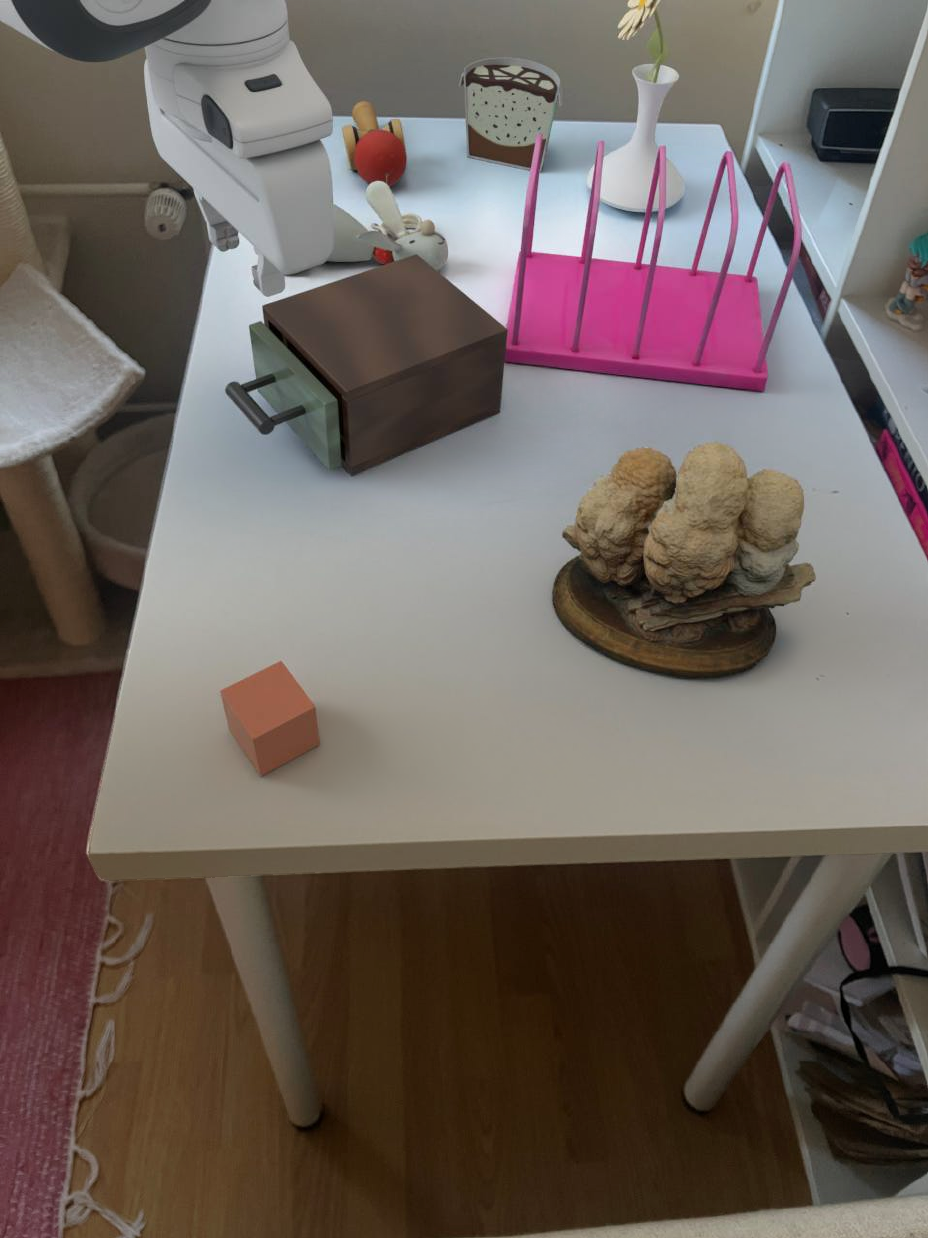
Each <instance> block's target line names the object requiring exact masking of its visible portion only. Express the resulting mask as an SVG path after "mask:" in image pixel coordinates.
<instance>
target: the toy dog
mask: <svg viewBox="0 0 928 1238" xmlns="http://www.w3.org/2000/svg"><path fill="white" fill-rule="evenodd" d="M366 187H367V188H366V190H365V199H366V202H367V204H368V205H369V206H370V208H371V209H372V210H373V211H374V213H375V214H376V215H377V217H378V218H379V219H380V221H381V222H382V223H380V225H379V224H378V223H376V222H371V224H370V228H372V229H373V230H369V229H367V227H365V226H364V225H363V224H362V223H361V222H360V221H359V220H358V219H356V218H355V217H354V216H352V215H351V214H350V213H348V212H347V211H345V210H344V208H341V207H340V206H338V205H337V204H335V203H333V205H334V246H333V251H332V253H331V255H330V256H329V258H328V259H327V261H326V262H332V263H333V262H335V263H351V262H354V263H355V262H365V261H370V260H371V259H372V257H373V258H374V259H375V261H376V262H378V263H380V264H382V265H386V264H389V263H392V262H395V261H398V260H401V259H404V258H407V257H410V256H413V255H415V254H417V255H418V256H420V257H421V258H422V259H423V260H424V261H426V262H427V263H428V264H429V265H430V266H432V267H433V268H434V269H435V270H436V271H439V270H441V269H442V268H443V267H444V266H445V265H446V263H447V261H448V256H449V248H448V242H447V240H446V238H445V236H444V235H443V234H442V233H441V232H439V231H437V230H436V225H435V223H434V222H433V221H432V220H431V219H424V220H423V219H422V217H420V215H418V214H416V213H404V214H403V213H402V214H401V212H400V209H399V204H398V203H397V201H396V197H395V195H394V194H393V191H392V189H391V188H390V187H391V186H388V185H387V184H386V183H384V182H382V181H375V182H372V183H371V184H368V186H366ZM407 229H414V230H413V231H410V230H407ZM301 272H302V271H300V272H297V273H293V274H292V275H295V274H299V273H301Z"/></svg>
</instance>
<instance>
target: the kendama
mask: <svg viewBox="0 0 928 1238" xmlns="http://www.w3.org/2000/svg"><path fill="white" fill-rule="evenodd" d="M351 116H352V117H351V118H352V120H353V122H354V123H355V125H356V127H355V126H354V125H353V124H348V125H343V126H341V130H342V137H343V142H344V147H345V151H346V156H347V161H348V165H349V170H350V171H356V172H357V173H358V175H359V177H360V178H361V179H362V180H363V181H364V182H366V183H367V184H368V185H370V184H371V183H372V182H375V181H382V182H384V183H386V184H387V185H388V186H389V187H391V186H392V185H395V184H396V183H397V182H399V181H400V179H401V178H402V177H403V175H404V173H405V171H406V168H407V161H408V159H407V158H408V157H407V150H406V142H405V141H406V140H405V137H404V131H403V126H402V123H401V120H400V118H392V119H390V120H389V122H388V123H387V124H386V125H385V126H384V127H383V128H381V129H380V127H379V121H378V117H377V111H376V108H375V106H373V104H372V103H371V102H369V101H366V100H363V101H359V102H357V103H356V104H355V105H354V106H353V108H352V112H351Z"/></svg>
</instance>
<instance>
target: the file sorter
mask: <svg viewBox="0 0 928 1238" xmlns="http://www.w3.org/2000/svg"><path fill="white" fill-rule="evenodd" d="M542 138H543V135H542V134H537V137H536V142H535V148H534V153H533V159H532V165H531V170H529V171H530V172H529V176H528V182H527V190H526V195H525V203H524V210H523V212H524V213H523V219H522V220H523V221H522V229H521V230H522V231H521V244H520V250H519V252H518V258H517V262H516V268H515V275H514V279H513V281H514V282H513V288H512V291H511V299H510V306H509V312H508V317H507V323H506V328H507V329H508V333H507V343H506V354H505V363H506V362H507V363H517V364H524V365H533V366H539V367H540V366H541V367H551V368H558V369H566V370H575V371H583V372H584V371H585V372H594V373H600V374H610V375H620V376H627V377H628V376H629V377H636V378H645V379H653V380H663V381H671V382H679V383H688V384H695V385H705V386H713V387H724V388H733V389H740V390H741V389H742V390H749V391H758V392H763V391H764V390H765V389H766V385H767V382H768V379H769V371H768V363H767V353H768V351H769V347H770V345H771V342H772V338H773V336H774V333H775V330H776V327H777V324H778V322H779V318H780V315H781V312H782V310H783V306H784V304H785V302H786V298H787V295H788V292H789V290H790V286H791V283H792V281H793V277H794V274H795V271H796V268H797V265H798V261H799V256H800V252H801V246H802V238H803V227H802V226H803V225H802V219H801V214H800V209H799V203H798V196H797V191H796V186H795V181H794V176H793V171H792V167H791V166H792V165H791V164H790V162H788V161H787V162H786V161H784V162H781V164H780V165H779V167H778V170H777V172H776V175H775V177H774V180H773V184H772V187H771V190H770V194H769V197H768V201H767V204H766V208H765V211H764V215H763V218H762V220H761V225H760V227H759V232H758V236H757V238H756V241H755V243H754V248H753V251H752V255H751V258H750V261H749V265H748V269H747V272H746V275H745V274H739V273H728V272H729V268H730V265H731V261H732V258H733V255H734V250H735V248H736V247H735V246H736V242H737V235H738V229H739V220H740V219H739V217H740V216H739V204H738V194H737V193H738V192H737V182H736V171H735V162H734V155H733V152H732V151H730V150H725V152H724V153H723V155H722V156H721V159H720V162H719V166H718V170H717V173H716V176H715V181H714V184H713V187H712V190H711V195H710V198H709V203H708V207H707V210H706V214H705V216H704V217H705V218H704V221H703V225H702V228H701V231H700V236H699V239H698V243H697V247H696V250H695V255H694V257H693V262H692V265H691V268H686V267H685V268H684V267H676V266H666V265H659V264H658V265H657V263H658V259H659V258H658V257H659V252H660V247H661V241H662V235H663V229H664V224H665V223H664V222H665V214H666V209H665V206H666V157H667V146H666V145H663V144H661V145H659V146H658V149H659V150H658V153H657V158H656V163H655V168H654V173H653V178H652V183H651V188H650V193H649V198H648V203H647V208H646V212H645V215H644V218H643V224H642V229H641V234H640V240H639V245H638V250H637V255H636V260H635V262H630V261H623V260H621V261H620V260H613V259H612V260H611V259H603V258H593V254H594V253H593V252H594V245H595V238H596V233H597V224H598V217H599V216H598V215H599V208H600V202H601V201H600V189H601V177H602V166H603V157H604V151H605V141H604V140H602V139H601V140H598V143H597V147H596V148H597V149H596V155H595V159H594V160H595V161H594V164H595V167H594V173H593V180H592V187H591V191H590V192H589V193H590V194H589V200H588V208H587V213H586V214H587V215H586V221H585V226H584V235H583V240H582V241H583V242H582V247H581V254H580V256H575V255H567V254H557V253H549V252H538V251H532V250H533V240H534V230H535V221H536V212H537V211H536V210H537V201H538V200H537V199H538V191H539V190H538V189H539V180H540V173H539V171H540V161H541V151H542ZM725 170H727V171H726V172H727V182H728V194H729V204H730V231H729V236H728V242H727V247H726V251H725V254H724V258H723V261H722V265H721V267H720V272H717V271H710V270H702V269H698V268H699V263H700V260H701V258H702V253H703V249H704V246H705V242H706V238H707V235H708V230H709V227H710V223H711V220H712V218H713V217H712V216H713V212H714V210H715V205H716V202H717V198H718V195H719V191H720V187H721V184H722V181H723V177H724V173H725ZM659 173H660V174H659ZM783 175H784V178H785V183H786V189H787V194H788V199H789V205H790V213H791V219H792V224H793V225H792V226H793V232H794V234H793V246H792V252H791V256H790V260H789V263H788V266H787V270H786V273H785V276H784V279H783V282H782V285H781V287H780V288H781V289H780V292H779V294H778V296H777V300H776V303H775V305H774V309H773V311H772V314H771V317H770V320H769V325H768V326H767V329H766V332H765V335H764V327H763V318H762V309H761V300H760V291H759V282H758V277H757V276H754V271H755V268H756V265H757V261H758V258H759V255H760V251H761V249H762V245H763V242H764V238H765V234H766V231H767V228H768V224H769V222H770V218H771V215H772V211H773V208H774V204H775V201H776V198H777V194H778V191H779V188H780V185H781V181H782V179H783ZM658 178H659V211H657V212H658V213H657V221H656V228H655V233H654V234H655V235H654V241H653V245H652V251H651V257H650V261H649V264H648V263H642V262H643V259H644V258H643V257H644V252H645V247H646V243H647V237H648V232H649V227H650V222H651V218H652V208H653V203H654V197H655V192H656V188H657V183H658Z"/></svg>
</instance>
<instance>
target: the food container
mask: <svg viewBox="0 0 928 1238" xmlns="http://www.w3.org/2000/svg"><path fill="white" fill-rule="evenodd" d="M462 86H463V91H464V92H463V94H464V113H465V114H464V115H465V133H466V137H465V138H466V154H467V155H466V156H467V158H469V159H473V160H478V161H483V162H488V163H492V164H496V165H501V166H502V165H503V166H507V167H510V168H516V169H521V170H525V171H530V170H531V165H532V159H533V153H534V148H535V142H536V137H537V134H542V135H543V138H542V151H541V161H540V171H539V174H540V173H542V171H543V169H544V165H545V160H546V155H547V150H548V145H549V141H550V137H551V132H552V127H553V123H554V117H555V112H556V108H557V104H558V106H559V108H561V107H562V106H563V100H564V99H563V98H564V97H563V87H562V83H561V80H560V77H559V75H558V73H557V72H555V70H553V69H551V68H550V67H549V66H547V65H544V64H542V63H539V62H536V61H533V60H529V59H523V58H517V57H491V58H485V59H480V60H477V61H474V62H472V63H470V64H468V65H466V66H465V67H464V68H463V72H462V73H461V75H460V79H459V83H458V87H459V88H461V87H462Z"/></svg>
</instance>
